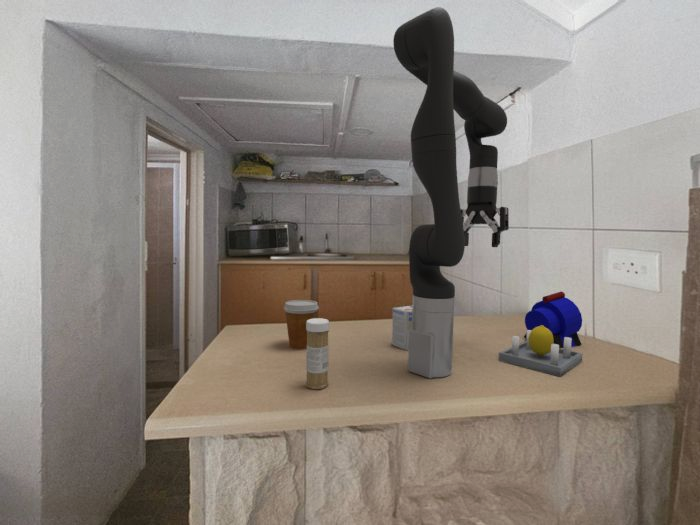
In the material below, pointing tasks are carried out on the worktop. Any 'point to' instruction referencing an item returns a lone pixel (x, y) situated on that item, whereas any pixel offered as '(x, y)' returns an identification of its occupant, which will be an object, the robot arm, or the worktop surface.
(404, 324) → the light bulb box
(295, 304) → the disposable coffee cup
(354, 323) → the worktop surface
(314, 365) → the sprinkles bottle
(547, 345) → the lemon
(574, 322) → the alarm clock
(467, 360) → the worktop surface
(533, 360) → the tray
